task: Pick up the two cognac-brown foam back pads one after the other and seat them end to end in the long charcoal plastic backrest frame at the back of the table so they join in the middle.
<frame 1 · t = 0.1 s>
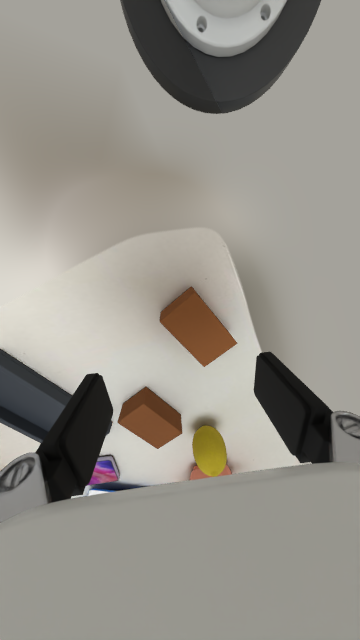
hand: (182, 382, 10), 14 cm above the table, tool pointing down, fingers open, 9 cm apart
pad a: (195, 322, 25), on the table
smartphone: (80, 469, 35), on the table
lemon: (204, 424, 33), on the table
pad b: (152, 409, 30), on the table
frame: (44, 405, 28), on the table
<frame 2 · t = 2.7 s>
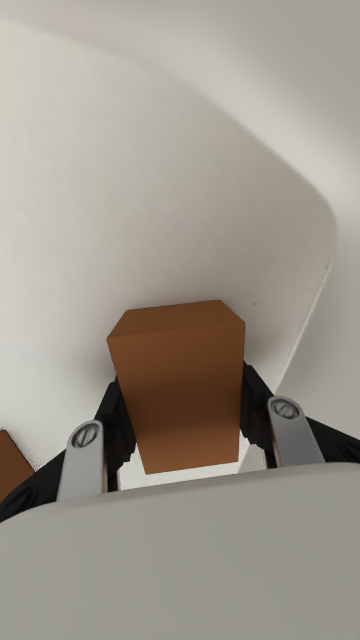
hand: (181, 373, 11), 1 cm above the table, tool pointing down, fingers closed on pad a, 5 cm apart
pad a: (180, 368, 12), on the table, touching gripper
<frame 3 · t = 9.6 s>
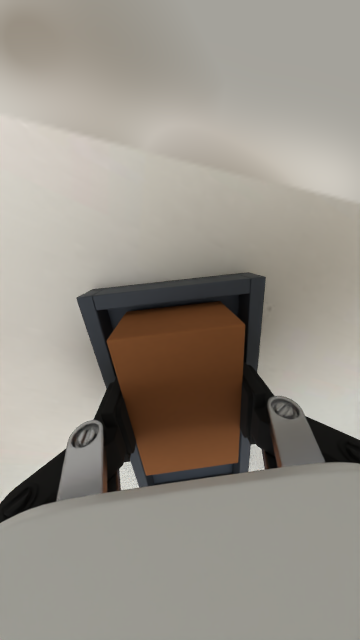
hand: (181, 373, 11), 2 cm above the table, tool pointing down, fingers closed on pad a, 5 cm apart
pad a: (180, 369, 12), point 1 cm above the table, touching gripper
frame: (185, 405, 14), on the table
when the fingers open (3 cm above the table, at t = 17.5 s): pad a drops 2 cm, resting on frame.
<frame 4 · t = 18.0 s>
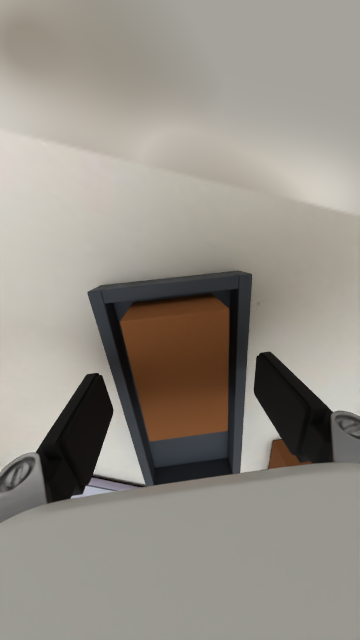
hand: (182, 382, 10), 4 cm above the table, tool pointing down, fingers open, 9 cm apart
pad a: (179, 353, 13), resting on frame
smartphone: (113, 496, 21), on the table
pad b: (290, 461, 21), on the table
frame: (183, 392, 15), on the table
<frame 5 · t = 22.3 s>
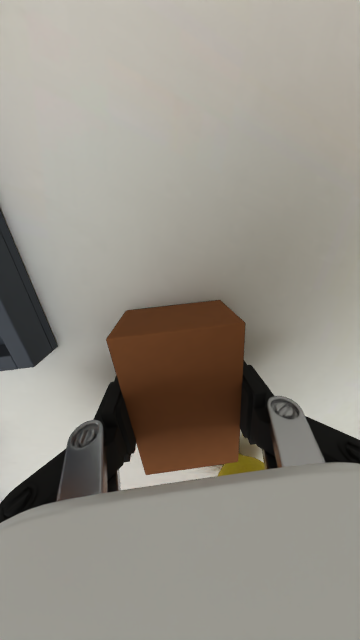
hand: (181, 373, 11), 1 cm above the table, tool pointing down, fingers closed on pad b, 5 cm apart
lemon: (234, 451, 16), on the table
pad b: (180, 368, 12), on the table, touching gripper
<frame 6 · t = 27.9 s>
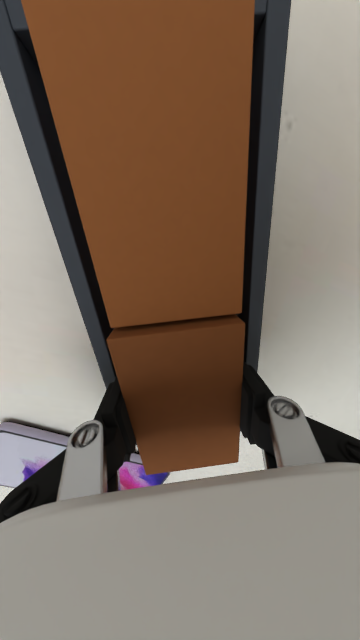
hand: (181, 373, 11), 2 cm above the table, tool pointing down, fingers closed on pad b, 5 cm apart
pad a: (164, 213, 9), resting on frame
smartphone: (85, 463, 16), on the table
pad b: (180, 368, 12), point 1 cm above the table, touching gripper
frame: (173, 298, 11), on the table
when the fingers open (3 cm above the table, at t = 35.9 s): pad b drops 2 cm, resting on frame.
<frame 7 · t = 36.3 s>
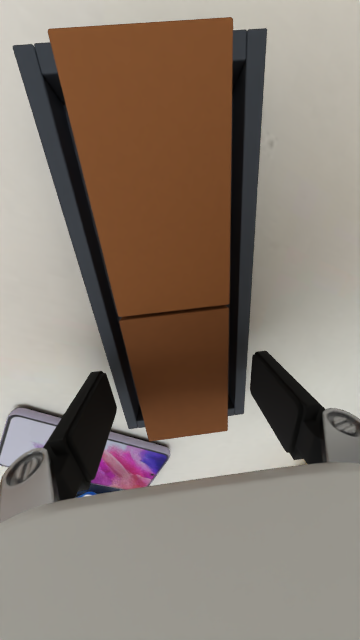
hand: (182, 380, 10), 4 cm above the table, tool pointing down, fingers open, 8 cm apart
pad a: (163, 219, 10), resting on frame
smartphone: (91, 448, 17), on the table
pad b: (178, 353, 13), resting on frame
frame: (172, 293, 12), on the table
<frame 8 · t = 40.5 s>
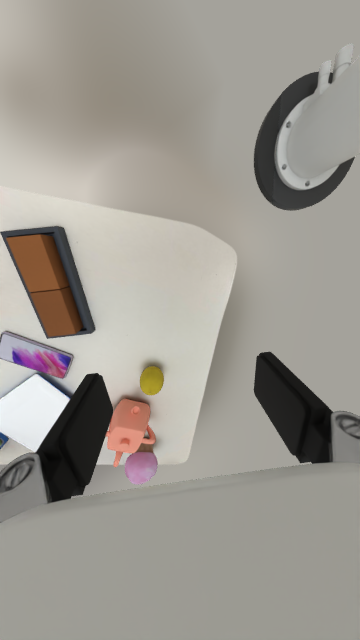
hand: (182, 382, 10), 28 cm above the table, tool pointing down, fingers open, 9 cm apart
cupcake: (144, 441, 54), on the table
teapot: (132, 409, 49), on the table
pad a: (47, 263, 33), resting on frame
smartphone: (37, 354, 40), on the table
lemon: (153, 368, 44), on the table
pad b: (64, 309, 36), resting on frame
plate: (47, 414, 47), on the table
frame: (57, 286, 35), on the table
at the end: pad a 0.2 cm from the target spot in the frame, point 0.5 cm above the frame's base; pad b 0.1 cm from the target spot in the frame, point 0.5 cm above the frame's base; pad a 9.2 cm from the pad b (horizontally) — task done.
